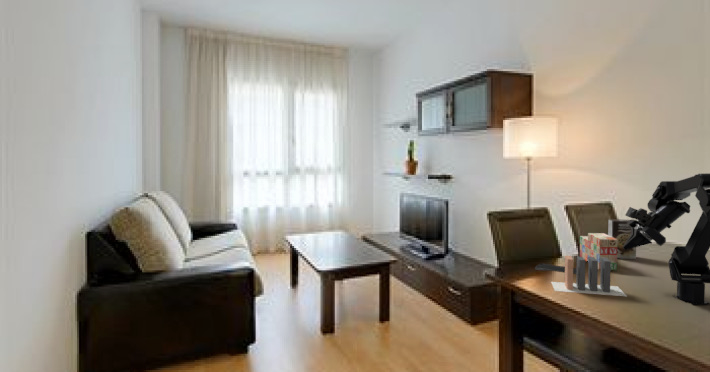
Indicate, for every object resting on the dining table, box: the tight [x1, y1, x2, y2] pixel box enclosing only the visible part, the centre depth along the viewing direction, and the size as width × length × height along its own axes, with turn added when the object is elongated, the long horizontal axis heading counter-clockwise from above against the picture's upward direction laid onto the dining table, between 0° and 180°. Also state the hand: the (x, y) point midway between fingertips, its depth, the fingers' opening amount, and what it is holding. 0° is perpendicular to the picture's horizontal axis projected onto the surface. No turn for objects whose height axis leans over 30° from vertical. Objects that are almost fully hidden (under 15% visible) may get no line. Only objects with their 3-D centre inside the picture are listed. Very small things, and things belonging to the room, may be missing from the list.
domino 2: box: [587, 257, 599, 292], centre depth 130 cm, size 2×5×10 cm, turn 161°
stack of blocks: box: [579, 232, 618, 271], centre depth 163 cm, size 21×6×12 cm, turn 169°
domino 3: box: [599, 258, 611, 293], centre depth 128 cm, size 2×5×10 cm, turn 161°
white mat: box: [550, 281, 627, 297], centre depth 130 cm, size 20×10×1 cm, turn 71°
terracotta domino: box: [564, 255, 574, 290], centre depth 132 cm, size 2×5×10 cm, turn 161°
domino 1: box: [576, 255, 586, 291], centre depth 131 cm, size 2×5×10 cm, turn 161°
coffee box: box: [607, 218, 637, 260], centre depth 171 cm, size 9×6×16 cm
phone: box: [534, 263, 577, 275], centre depth 154 cm, size 8×1×15 cm
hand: (624, 248), depth 134 cm, fingers closed
